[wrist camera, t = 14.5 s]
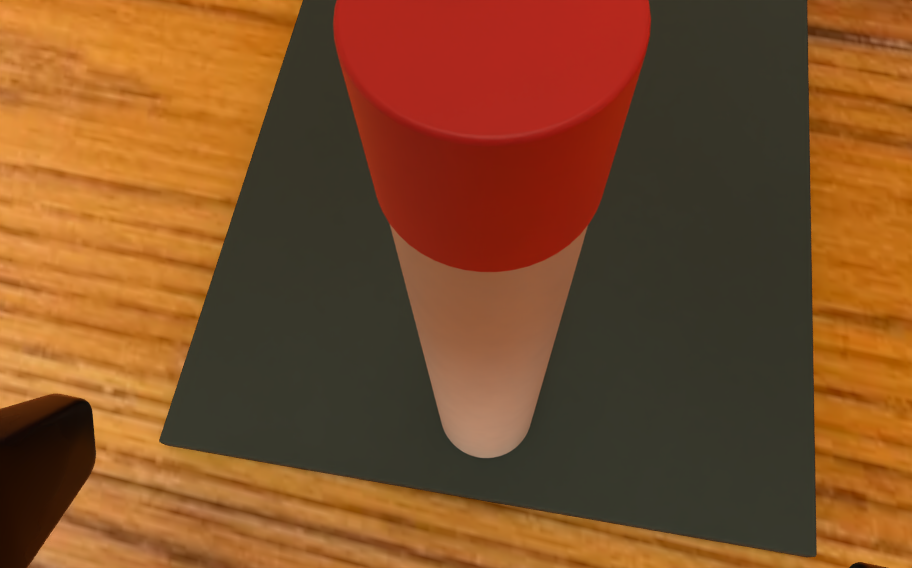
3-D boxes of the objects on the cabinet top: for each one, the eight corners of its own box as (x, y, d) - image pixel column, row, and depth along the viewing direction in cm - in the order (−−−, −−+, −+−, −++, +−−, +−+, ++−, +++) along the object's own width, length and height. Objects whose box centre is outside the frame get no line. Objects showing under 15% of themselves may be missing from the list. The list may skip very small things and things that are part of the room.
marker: (543, 451, 15) (695, 110, 4) (447, 469, 15) (351, 169, 4) (522, 358, 16) (605, -129, 5) (431, 375, 16) (316, -82, 5)
